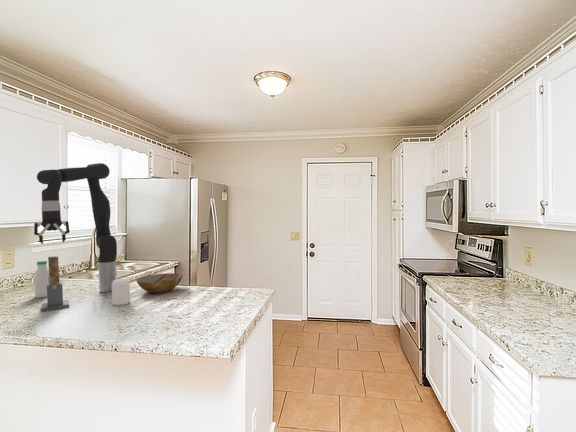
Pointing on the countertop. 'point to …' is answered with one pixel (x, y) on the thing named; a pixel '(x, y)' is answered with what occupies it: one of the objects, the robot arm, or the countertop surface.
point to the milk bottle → (41, 279)
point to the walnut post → (53, 270)
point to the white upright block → (120, 292)
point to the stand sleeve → (54, 298)
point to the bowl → (159, 282)
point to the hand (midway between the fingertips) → (52, 242)
